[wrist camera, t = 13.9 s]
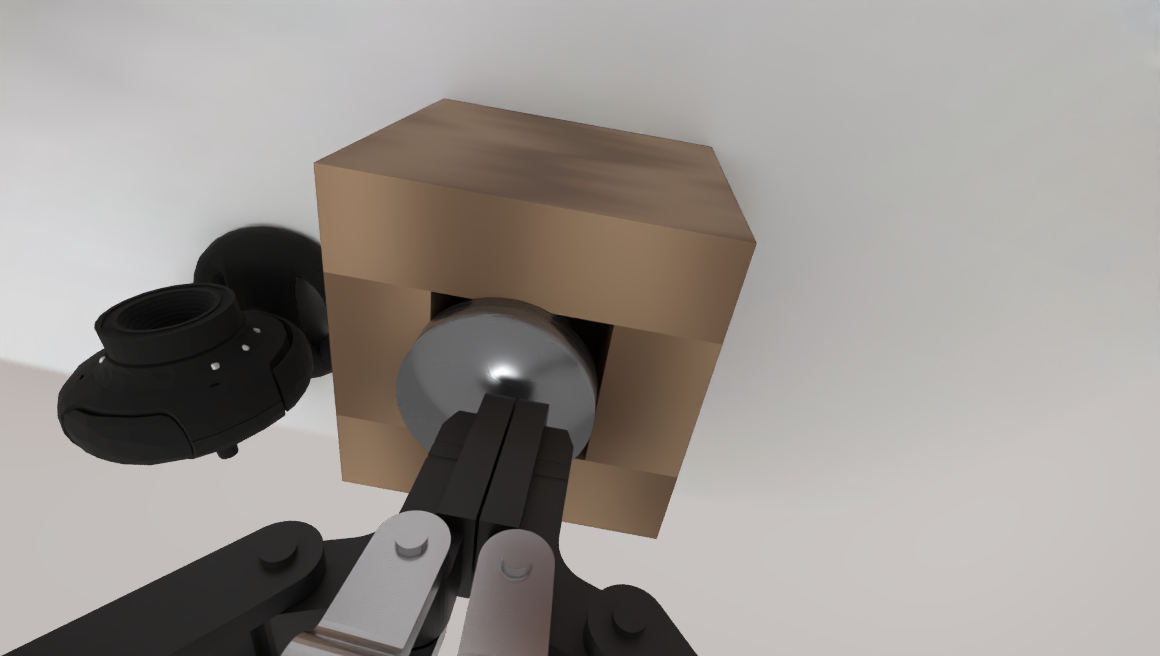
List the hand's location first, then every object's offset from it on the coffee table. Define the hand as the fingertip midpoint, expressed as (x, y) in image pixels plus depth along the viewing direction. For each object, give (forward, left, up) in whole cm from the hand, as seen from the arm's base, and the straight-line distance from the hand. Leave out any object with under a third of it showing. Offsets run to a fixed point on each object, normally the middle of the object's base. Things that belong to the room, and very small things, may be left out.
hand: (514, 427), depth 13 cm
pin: (+1, 0, -11) cm, 11 cm away
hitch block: (0, 0, -12) cm, 12 cm away
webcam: (+12, +5, -12) cm, 18 cm away
